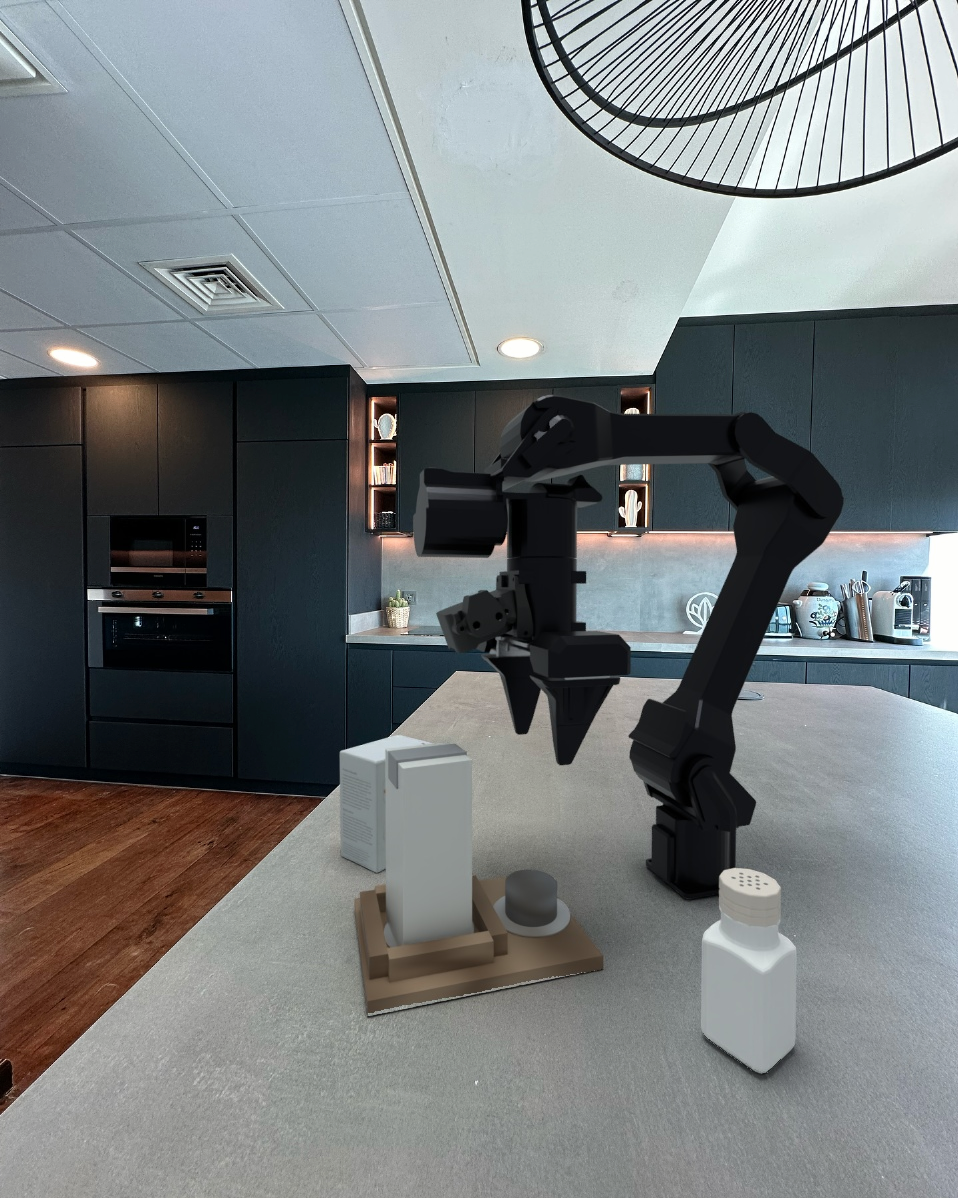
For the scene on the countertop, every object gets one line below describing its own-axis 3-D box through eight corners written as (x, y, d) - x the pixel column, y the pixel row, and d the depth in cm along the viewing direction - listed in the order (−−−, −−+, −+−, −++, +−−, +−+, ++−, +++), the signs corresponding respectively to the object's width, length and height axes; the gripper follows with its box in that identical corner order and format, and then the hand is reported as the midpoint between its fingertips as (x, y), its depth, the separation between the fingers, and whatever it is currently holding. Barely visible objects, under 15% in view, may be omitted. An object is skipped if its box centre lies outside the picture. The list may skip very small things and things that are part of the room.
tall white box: (449, 905, 46) (449, 739, 45) (473, 941, 41) (473, 757, 41) (384, 920, 44) (384, 746, 43) (401, 960, 39) (401, 765, 39)
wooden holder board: (538, 883, 51) (538, 844, 51) (603, 969, 40) (603, 919, 40) (354, 910, 47) (354, 868, 47) (367, 1017, 35) (367, 961, 35)
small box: (399, 830, 62) (399, 733, 62) (436, 844, 59) (436, 742, 59) (338, 857, 56) (337, 749, 56) (376, 875, 53) (375, 761, 52)
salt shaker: (763, 1085, 31) (765, 908, 30) (696, 1037, 34) (698, 877, 34) (800, 1049, 33) (802, 885, 33) (733, 1008, 36) (735, 858, 36)
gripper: (423, 562, 54) (424, 727, 55) (478, 551, 36) (478, 797, 37) (534, 563, 57) (534, 720, 58) (635, 554, 39) (634, 781, 40)
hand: (540, 748), depth 48 cm, fingers open, 9 cm apart
